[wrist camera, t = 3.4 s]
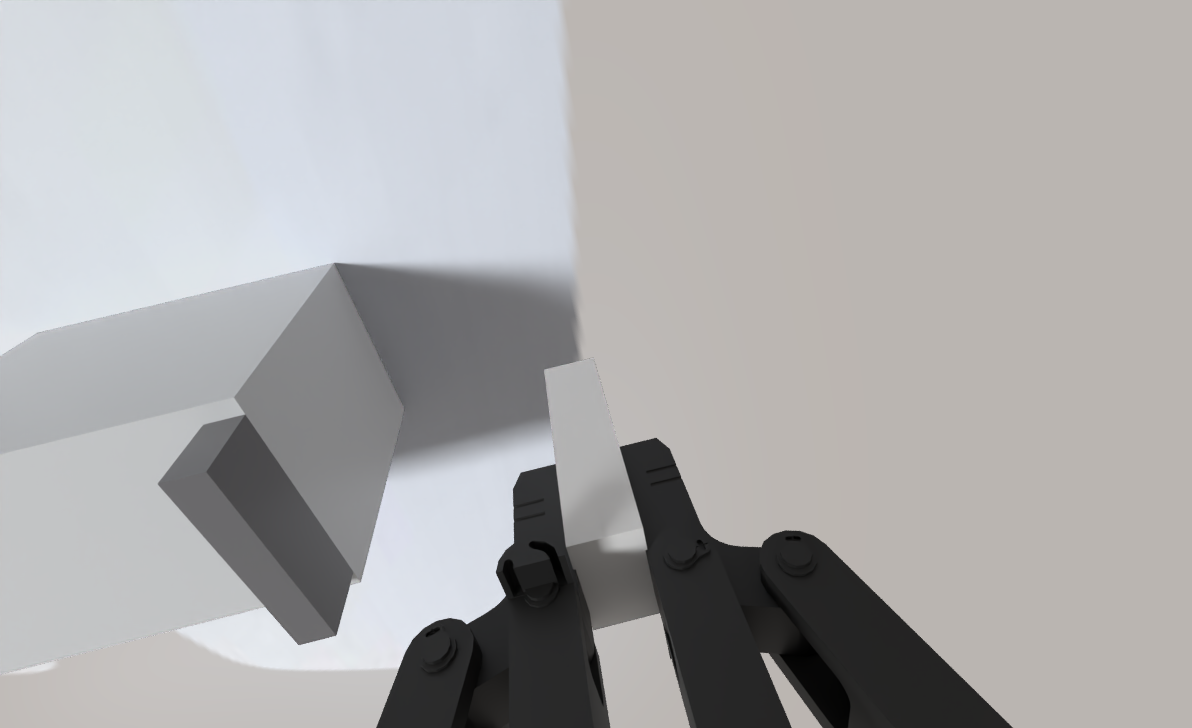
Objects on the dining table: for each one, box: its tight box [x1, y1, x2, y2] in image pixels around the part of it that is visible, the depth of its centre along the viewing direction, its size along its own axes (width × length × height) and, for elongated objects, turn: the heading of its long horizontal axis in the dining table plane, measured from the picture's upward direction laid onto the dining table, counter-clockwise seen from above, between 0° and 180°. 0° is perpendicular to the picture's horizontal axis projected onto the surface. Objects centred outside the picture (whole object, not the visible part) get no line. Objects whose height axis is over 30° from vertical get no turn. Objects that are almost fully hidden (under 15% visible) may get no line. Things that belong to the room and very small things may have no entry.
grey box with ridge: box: [0, 263, 405, 675], centre depth 17 cm, size 7×11×11 cm, turn 101°
